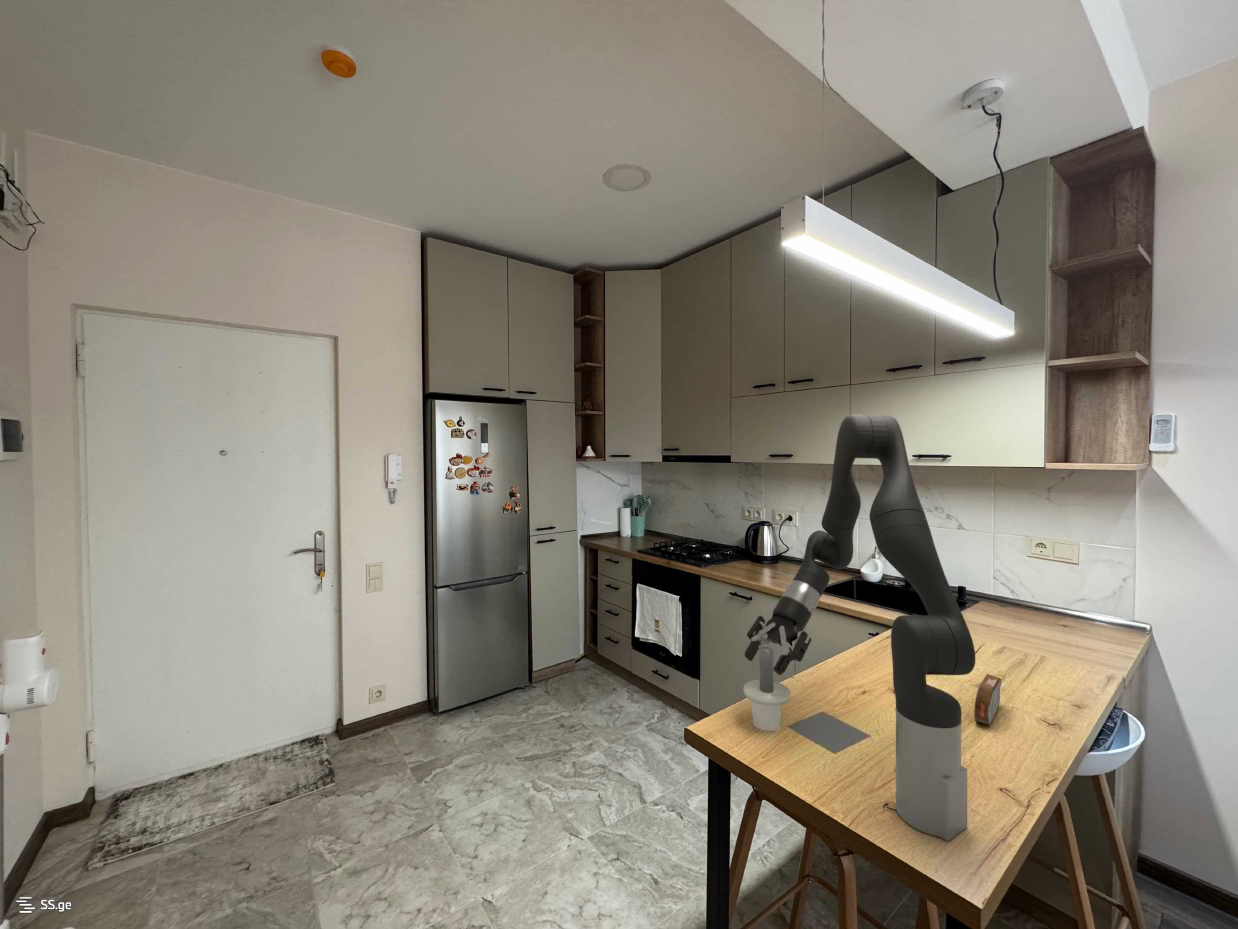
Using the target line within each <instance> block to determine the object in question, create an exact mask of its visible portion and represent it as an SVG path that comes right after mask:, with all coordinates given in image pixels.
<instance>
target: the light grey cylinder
mask: <svg viewBox="0 0 1238 929" xmlns="http://www.w3.org/2000/svg"><path fill="white" fill-rule="evenodd" d="M750 703H751V712H752V713H751V714H752V721H753V722H752V723H753V725H754V726H755V728H758V730H761V731H763V732H765V731H766V732H775V731H779V729H780V727H781V719H782V718H781V717H782V707H783V704H782V705H763V704H759V703H756V702H753V701H751V700H750Z"/></svg>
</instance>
